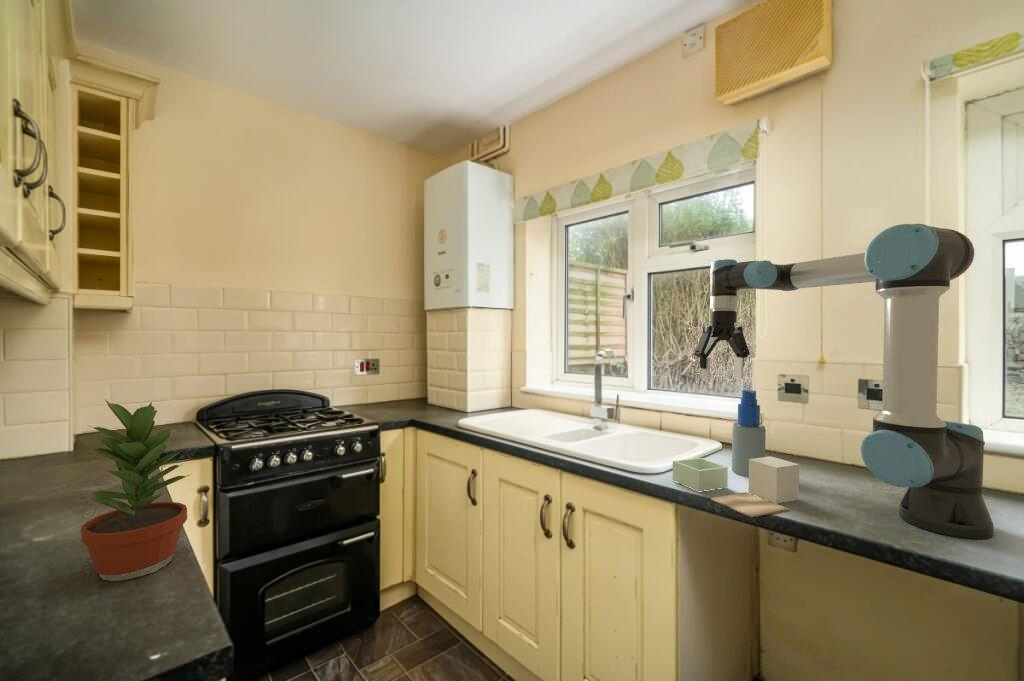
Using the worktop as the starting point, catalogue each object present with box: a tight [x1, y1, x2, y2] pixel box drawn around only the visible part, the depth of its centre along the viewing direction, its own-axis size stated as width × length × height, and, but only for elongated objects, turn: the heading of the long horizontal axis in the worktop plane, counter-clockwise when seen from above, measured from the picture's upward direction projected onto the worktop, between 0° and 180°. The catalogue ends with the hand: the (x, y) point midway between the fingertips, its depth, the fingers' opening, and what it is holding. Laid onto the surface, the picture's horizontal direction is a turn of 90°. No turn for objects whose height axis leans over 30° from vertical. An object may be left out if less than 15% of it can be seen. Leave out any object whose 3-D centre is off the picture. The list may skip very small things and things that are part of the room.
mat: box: [710, 491, 790, 519], centre depth 111 cm, size 12×12×1 cm
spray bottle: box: [731, 389, 767, 478], centre depth 137 cm, size 9×9×25 cm
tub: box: [672, 457, 729, 491], centre depth 126 cm, size 10×10×6 cm
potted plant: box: [80, 398, 192, 575], centre depth 81 cm, size 15×15×30 cm
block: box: [748, 456, 800, 505], centre depth 117 cm, size 8×8×9 cm
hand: (722, 378), depth 141 cm, fingers open, 13 cm apart
